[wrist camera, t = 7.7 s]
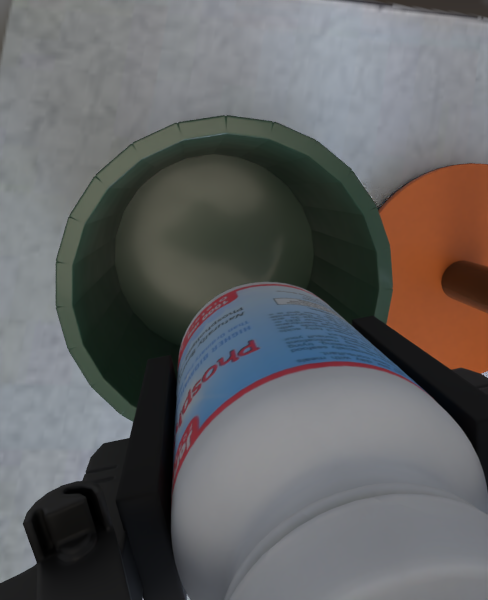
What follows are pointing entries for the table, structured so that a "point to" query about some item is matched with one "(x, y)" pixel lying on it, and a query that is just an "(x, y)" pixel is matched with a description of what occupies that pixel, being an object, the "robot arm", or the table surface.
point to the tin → (209, 241)
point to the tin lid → (441, 264)
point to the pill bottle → (315, 463)
